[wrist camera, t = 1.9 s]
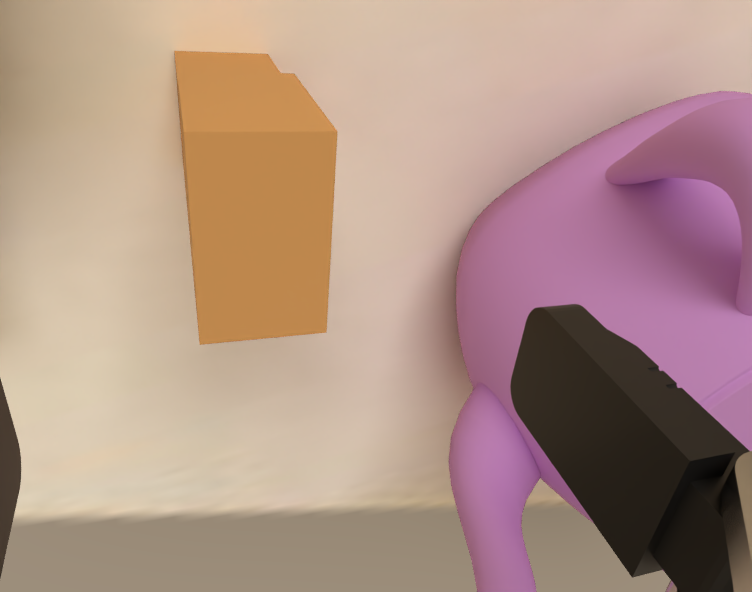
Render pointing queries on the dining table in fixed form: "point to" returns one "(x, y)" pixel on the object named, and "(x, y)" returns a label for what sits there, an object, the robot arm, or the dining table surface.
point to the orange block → (255, 196)
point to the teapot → (605, 295)
